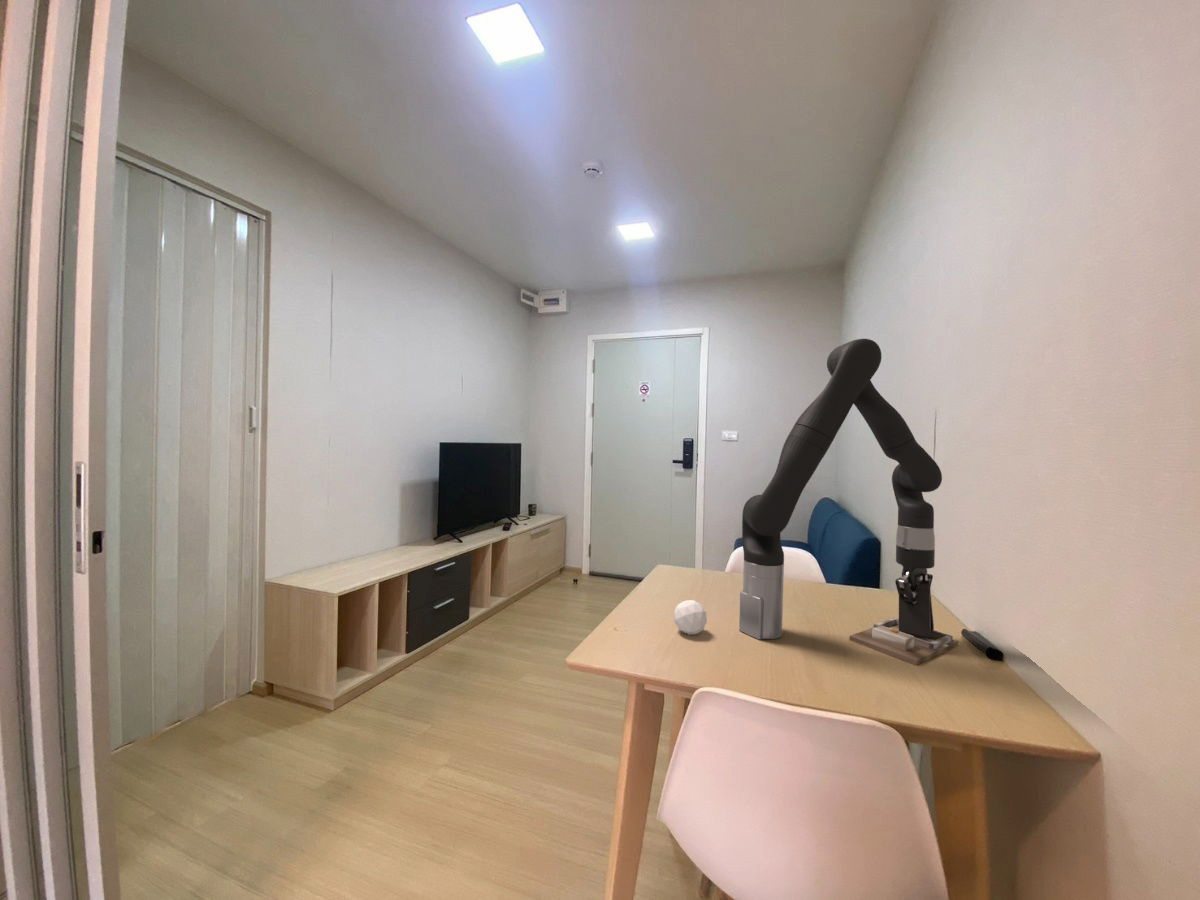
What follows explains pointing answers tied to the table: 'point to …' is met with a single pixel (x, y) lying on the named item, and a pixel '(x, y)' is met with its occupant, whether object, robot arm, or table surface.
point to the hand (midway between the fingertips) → (913, 617)
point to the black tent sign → (917, 614)
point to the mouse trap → (904, 642)
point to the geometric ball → (690, 617)
